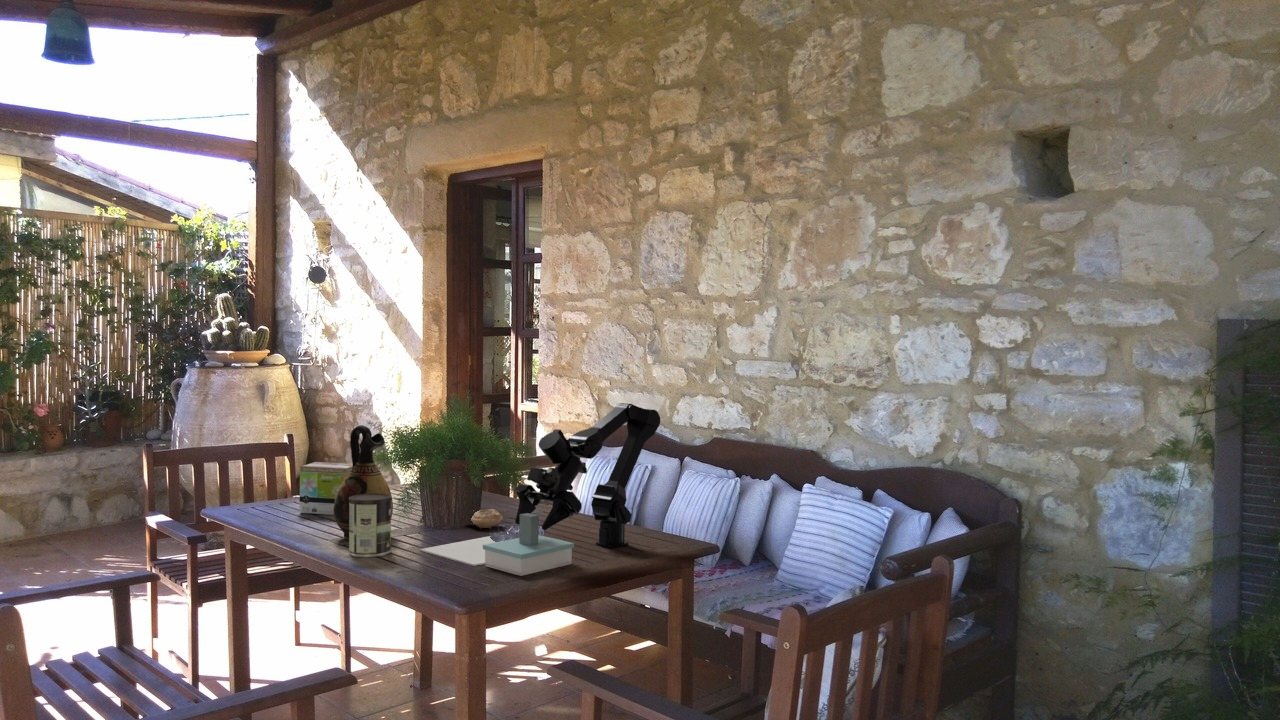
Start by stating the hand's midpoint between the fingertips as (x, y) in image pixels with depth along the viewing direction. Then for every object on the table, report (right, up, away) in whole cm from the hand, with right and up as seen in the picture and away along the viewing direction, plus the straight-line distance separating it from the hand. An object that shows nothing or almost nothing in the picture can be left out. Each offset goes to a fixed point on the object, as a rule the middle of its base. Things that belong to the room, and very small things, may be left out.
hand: (529, 526), depth 220 cm
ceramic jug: (-48, -8, +27) cm, 56 cm away
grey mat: (-14, -9, +14) cm, 21 cm away
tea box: (-69, -7, +62) cm, 93 cm away
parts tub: (0, -9, 0) cm, 9 cm away
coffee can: (-41, -9, +10) cm, 43 cm away
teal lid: (0, -7, 0) cm, 7 cm away
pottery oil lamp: (-19, -8, +44) cm, 48 cm away
